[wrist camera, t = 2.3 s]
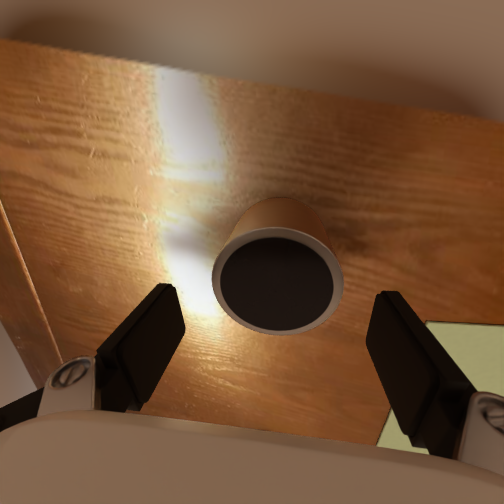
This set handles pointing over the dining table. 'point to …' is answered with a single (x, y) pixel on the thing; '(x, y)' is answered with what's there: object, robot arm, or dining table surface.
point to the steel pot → (278, 270)
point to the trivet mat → (469, 361)
